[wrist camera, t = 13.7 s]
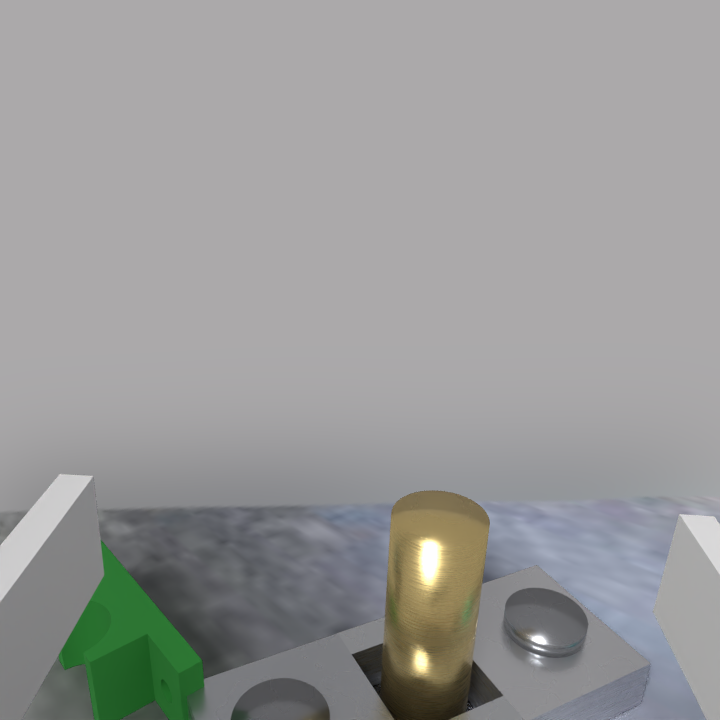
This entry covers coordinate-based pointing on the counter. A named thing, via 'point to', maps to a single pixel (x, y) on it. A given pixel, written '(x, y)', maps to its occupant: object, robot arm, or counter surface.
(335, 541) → the counter surface
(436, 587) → the link pin
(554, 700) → the plate with dome knobs
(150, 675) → the pipe clamp
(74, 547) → the robot arm
